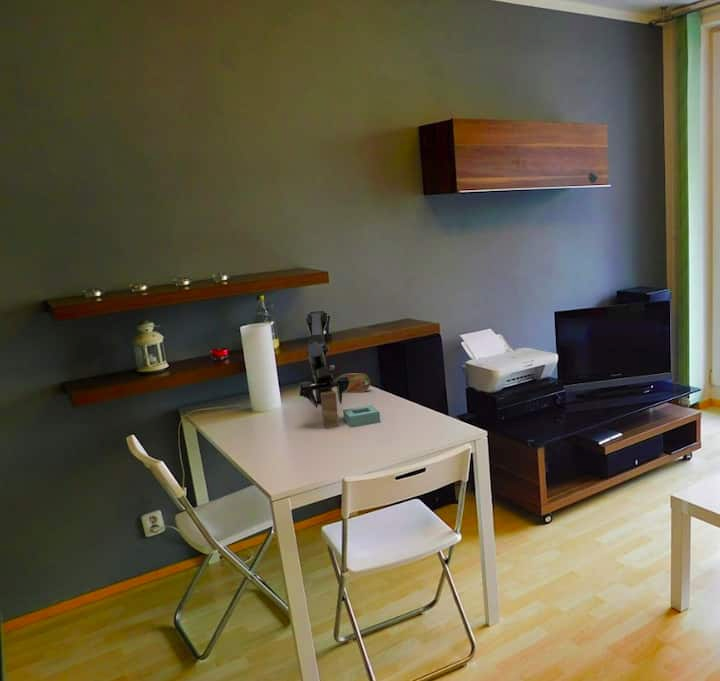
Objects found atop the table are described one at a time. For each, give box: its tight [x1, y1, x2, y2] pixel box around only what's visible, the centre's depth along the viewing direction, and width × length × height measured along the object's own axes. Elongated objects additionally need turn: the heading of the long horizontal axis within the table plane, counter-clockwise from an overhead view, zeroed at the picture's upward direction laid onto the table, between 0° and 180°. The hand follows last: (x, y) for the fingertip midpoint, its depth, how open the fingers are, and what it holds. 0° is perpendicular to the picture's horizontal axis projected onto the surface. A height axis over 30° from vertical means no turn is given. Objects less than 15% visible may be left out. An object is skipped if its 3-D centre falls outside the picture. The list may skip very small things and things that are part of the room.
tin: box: [339, 372, 371, 394], centre depth 271 cm, size 15×3×8 cm, turn 76°
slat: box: [320, 390, 339, 429], centre depth 226 cm, size 3×5×13 cm, turn 106°
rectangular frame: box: [342, 404, 381, 428], centre depth 230 cm, size 10×12×4 cm
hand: (329, 405), depth 225 cm, fingers open, 9 cm apart
